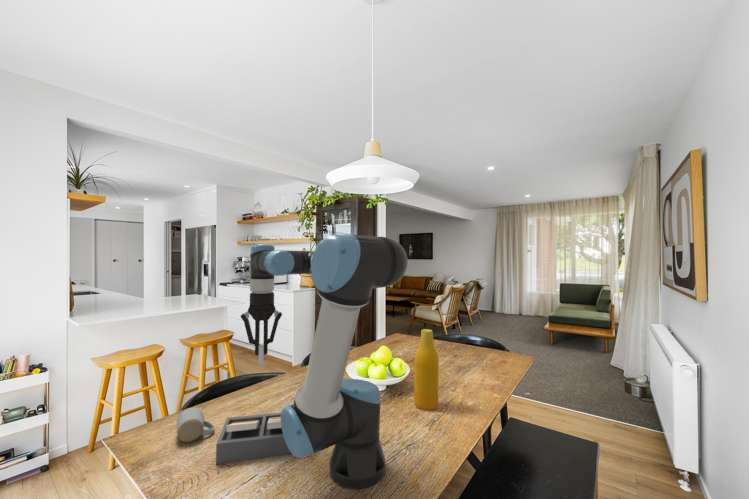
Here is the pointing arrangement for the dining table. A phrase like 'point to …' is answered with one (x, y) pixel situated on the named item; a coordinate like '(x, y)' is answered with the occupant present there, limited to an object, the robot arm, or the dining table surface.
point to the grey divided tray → (252, 440)
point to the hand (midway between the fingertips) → (261, 364)
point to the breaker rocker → (242, 426)
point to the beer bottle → (426, 373)
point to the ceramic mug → (192, 425)
